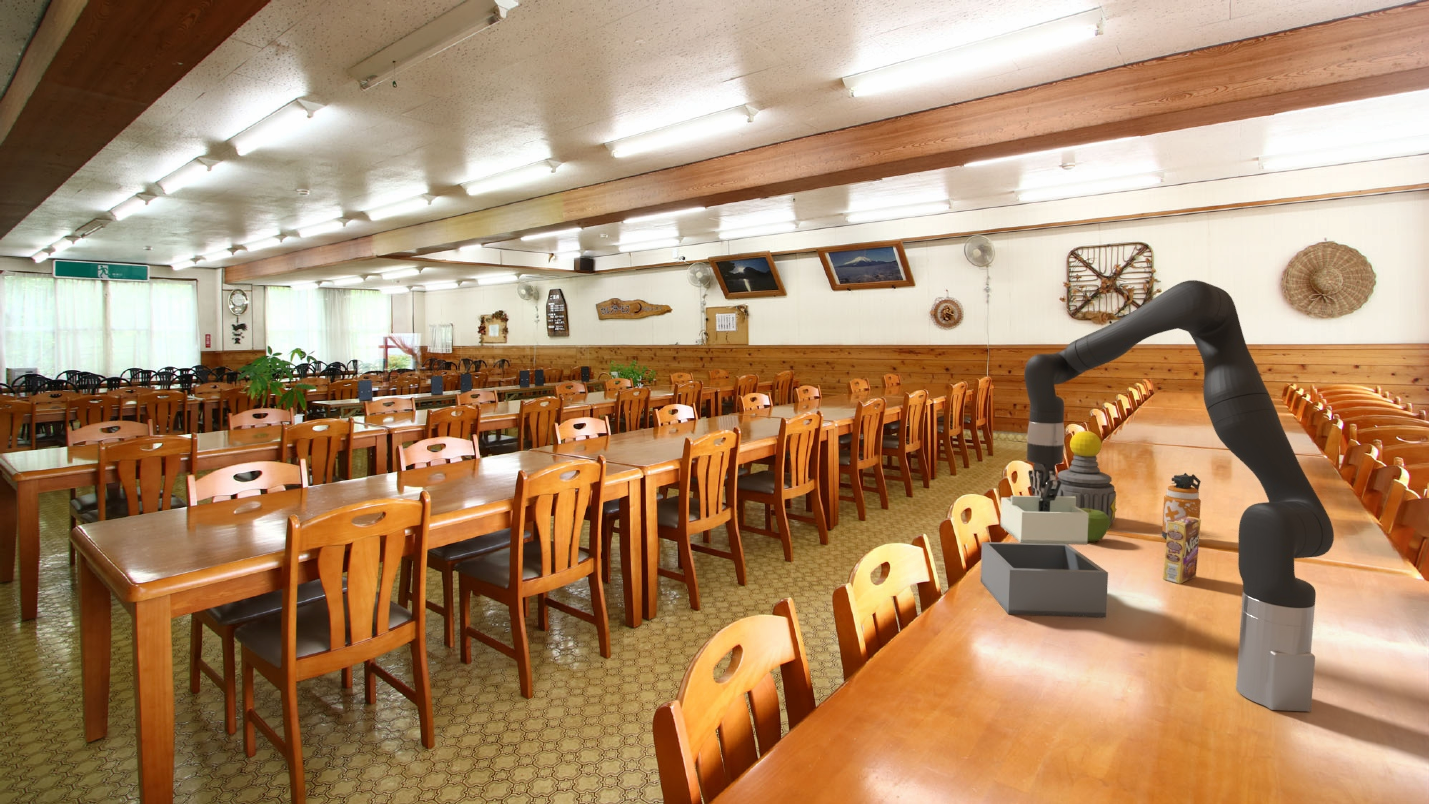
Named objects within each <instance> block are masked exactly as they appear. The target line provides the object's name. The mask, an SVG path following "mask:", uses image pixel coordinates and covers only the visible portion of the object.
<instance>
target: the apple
mask: <svg viewBox="0 0 1429 804" xmlns="http://www.w3.org/2000/svg"><path fill="white" fill-rule="evenodd" d="M1080 509H1081V510H1083V511H1085V512H1087V513H1089V516H1088V537H1087V542H1092V543H1093V542H1096V541H1097V542H1098V541H1100V540H1102V539H1103V538H1104V537H1105V535H1106V534H1107V532H1108V531H1109V528H1110V526H1111V525H1110V523H1111V521H1110V518H1109V516H1108V515H1107V514H1105V513H1104V512H1102V511H1099V510H1094V509H1090V508H1089V509H1087V508H1080Z"/></svg>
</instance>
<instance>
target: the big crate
mask: <svg viewBox="0 0 1429 804" xmlns="http://www.w3.org/2000/svg"><path fill="white" fill-rule="evenodd" d="M980 557H981V558H980V559H981V561H980V583H981V584H982V585H983V586H984V587H985V589H986V590H987V591H988V592H989V593H990V594H991V596H992V597H993V598H994V599H995V600H996V601H997V602H998V604H999V605H1000V607H1002V608H1003V610H1004V611H1005V612H1006V613H1007V615H1016V616H1017V615H1020V616H1045V617H1046V616H1048V617H1049V616H1052V617H1054V616H1055V617H1076V618H1077V617H1079V618H1080V617H1081V618H1082V617H1083V618H1106V617H1107V604H1108V603H1107V601H1108V599H1107V598H1108V582H1109V581H1108V580H1109V572H1108V571H1107V570H1105V569H1104V568H1102V567H1101V566H1100V565H1098V564H1097V563H1095V562H1094V561H1093V560H1091V559H1090V558H1088V557H1087V556H1086V555H1084V554H1082V553H1081V552H1080V551H1079V550H1077V549H1076V548H1074V547H1073V546H1071V544H1030V543H1020V542H993V541H991V542H989V541H984V542H983V541H982V542H981V556H980Z"/></svg>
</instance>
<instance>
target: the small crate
mask: <svg viewBox="0 0 1429 804" xmlns="http://www.w3.org/2000/svg"><path fill="white" fill-rule="evenodd" d="M1000 501H1001V502H1000V504H1001V505H1000V522H999V523H1000V524H999V525H1000V527H1001V528H1002V529H1004V530H1005V532H1007V533H1008V534H1009V535H1010V536H1012V537H1013V538H1014V539H1015V540H1017V541H1018V543H1030V544H1068V545H1083V546H1084V545H1085V546H1086V545H1088V541H1087V537H1088V516H1089V513H1087V512H1085V511H1083V510H1081V509H1080V508H1078V507H1076V497H1067V496H1056V498H1055V500H1054V501H1050V512H1039V496H1035V495H1010V497H1001V500H1000Z"/></svg>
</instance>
